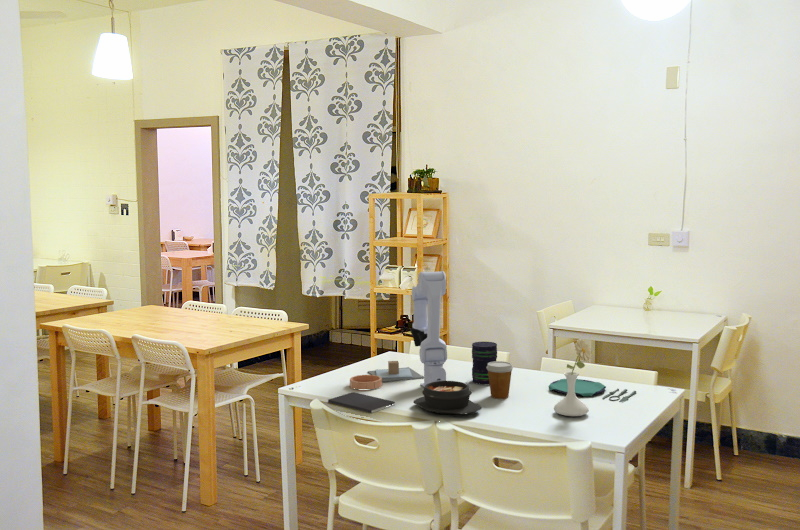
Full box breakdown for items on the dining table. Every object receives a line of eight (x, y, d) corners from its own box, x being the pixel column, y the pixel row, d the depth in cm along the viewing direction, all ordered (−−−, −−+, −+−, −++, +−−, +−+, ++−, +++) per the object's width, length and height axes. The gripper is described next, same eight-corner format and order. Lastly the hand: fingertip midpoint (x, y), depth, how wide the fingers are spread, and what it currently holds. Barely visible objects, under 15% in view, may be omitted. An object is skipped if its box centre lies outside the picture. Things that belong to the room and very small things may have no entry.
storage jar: (490, 377, 297) (490, 340, 296) (501, 383, 288) (501, 345, 286) (467, 379, 294) (467, 342, 292) (478, 386, 285) (477, 347, 283)
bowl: (385, 388, 283) (385, 380, 283) (355, 391, 279) (355, 383, 279) (376, 381, 294) (376, 373, 294) (346, 384, 290) (346, 376, 290)
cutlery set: (563, 381, 291) (563, 375, 291) (639, 394, 273) (640, 387, 272) (540, 393, 275) (540, 386, 275) (619, 407, 257) (619, 401, 257)
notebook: (328, 403, 266) (371, 414, 252) (327, 399, 266) (371, 410, 252) (353, 396, 275) (396, 406, 261) (353, 391, 275) (396, 401, 261)
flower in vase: (567, 421, 240) (567, 344, 237) (546, 411, 250) (547, 338, 248) (600, 415, 245) (600, 341, 243) (578, 406, 255) (579, 335, 253)
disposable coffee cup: (497, 391, 276) (497, 359, 275) (518, 396, 270) (518, 363, 268) (481, 396, 270) (480, 364, 269) (502, 401, 263) (502, 368, 262)
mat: (423, 378, 298) (423, 377, 297) (381, 382, 292) (380, 381, 292) (408, 368, 314) (408, 367, 314) (367, 372, 309) (367, 371, 309)
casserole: (401, 409, 256) (401, 385, 255) (435, 397, 270) (435, 375, 269) (459, 423, 239) (459, 398, 238) (492, 410, 253) (492, 386, 252)
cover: (412, 377, 296) (412, 365, 296) (377, 379, 295) (377, 366, 295) (409, 369, 310) (408, 357, 310) (375, 370, 309) (375, 358, 309)
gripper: (436, 317, 301) (436, 350, 302) (423, 312, 315) (423, 343, 316) (419, 318, 299) (420, 352, 300) (407, 313, 312) (408, 345, 314)
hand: (420, 347), depth 308 cm, fingers open, 7 cm apart
